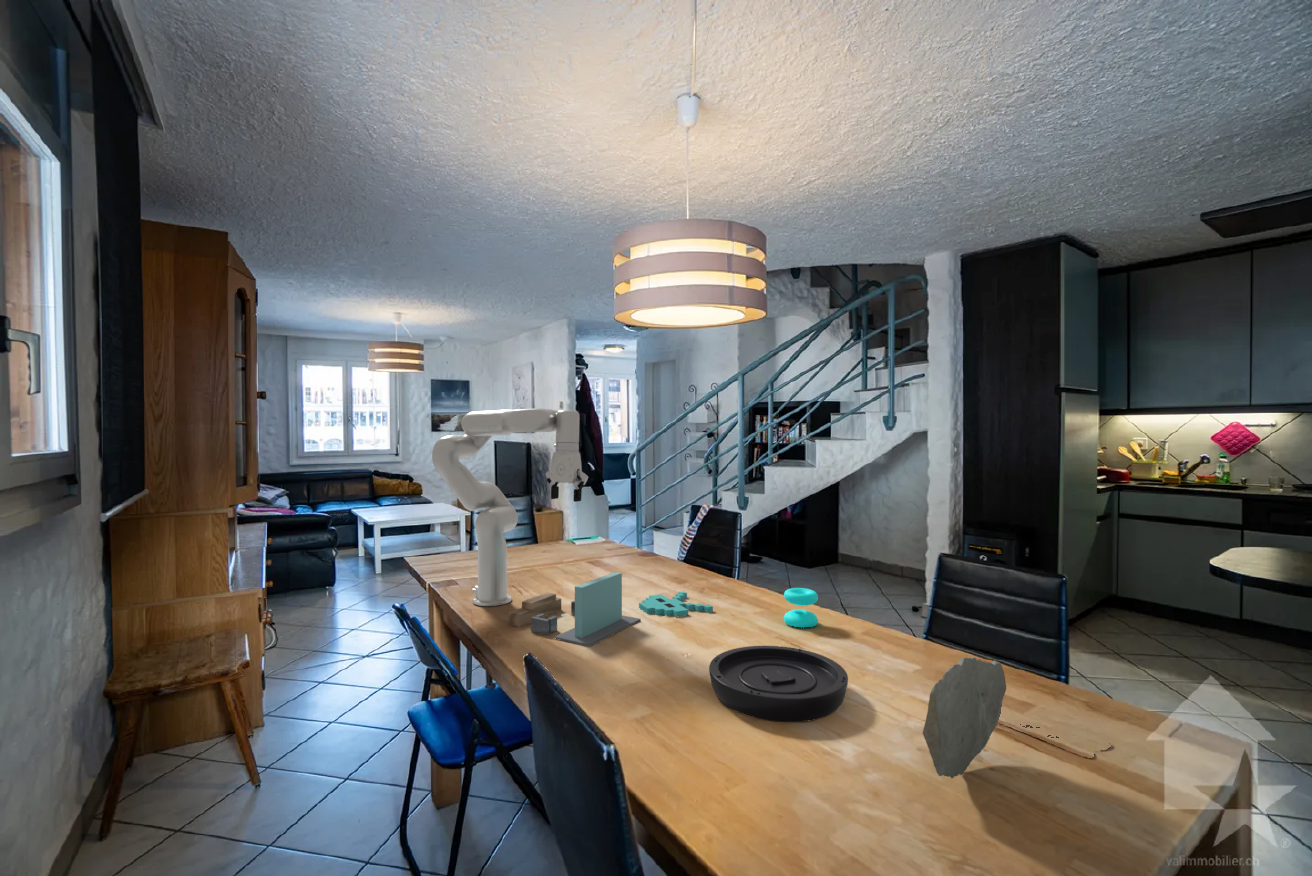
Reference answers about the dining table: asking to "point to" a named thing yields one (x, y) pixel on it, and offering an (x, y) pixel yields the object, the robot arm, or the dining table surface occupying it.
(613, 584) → the teal sheet
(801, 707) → the round tray
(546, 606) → the offcut stack
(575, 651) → the dining table surface
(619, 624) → the rubber mat
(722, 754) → the dining table surface
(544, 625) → the slab rack
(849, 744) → the dining table surface
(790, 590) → the donuts
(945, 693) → the rock
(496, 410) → the robot arm
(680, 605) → the alien figure
